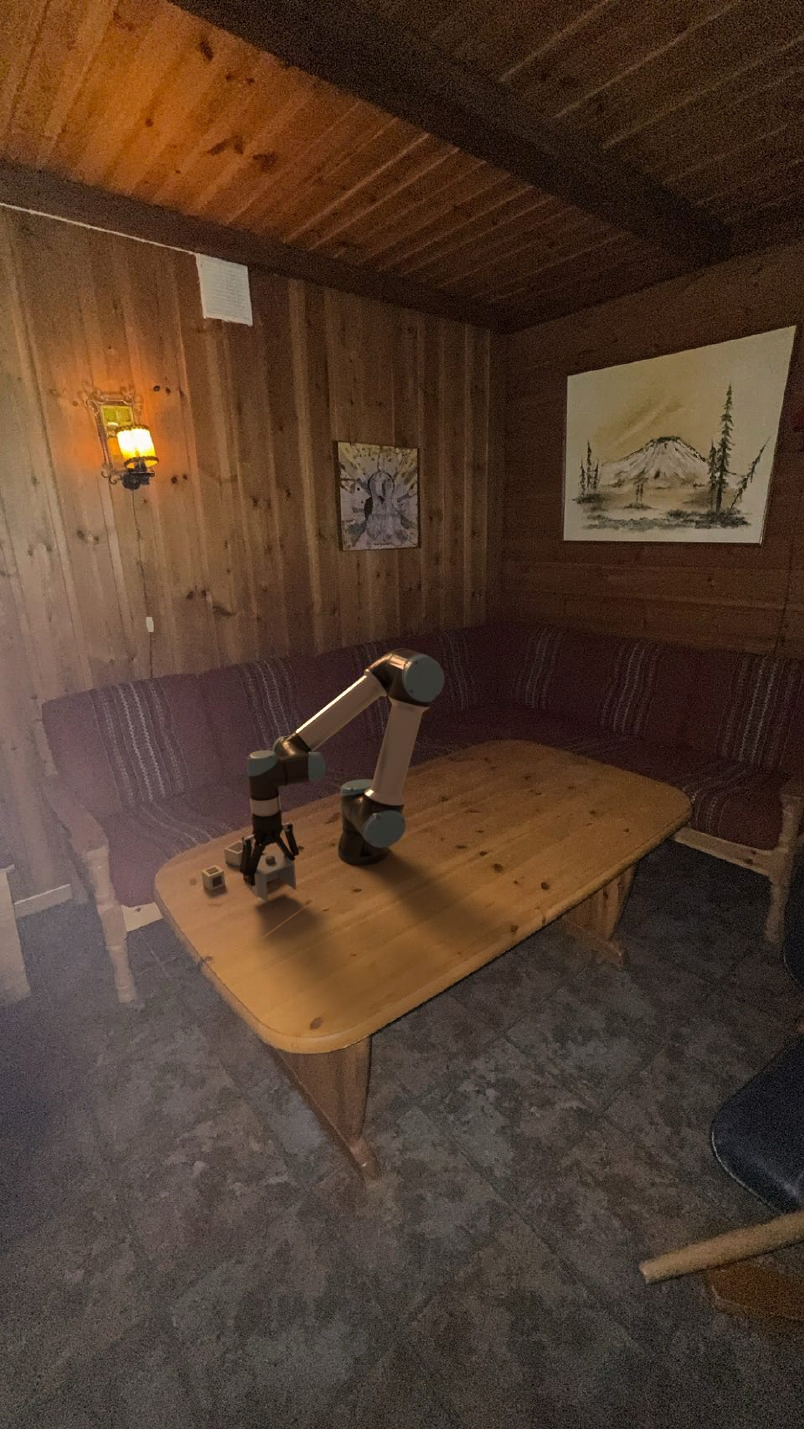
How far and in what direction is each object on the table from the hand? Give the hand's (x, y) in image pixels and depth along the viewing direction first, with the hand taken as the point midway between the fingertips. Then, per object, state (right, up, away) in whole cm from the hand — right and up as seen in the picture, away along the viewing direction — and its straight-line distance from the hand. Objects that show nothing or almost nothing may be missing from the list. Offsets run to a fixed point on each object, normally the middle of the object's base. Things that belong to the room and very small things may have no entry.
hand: (272, 887), depth 166 cm
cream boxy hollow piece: (-18, -2, +9) cm, 21 cm away
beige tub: (-14, +2, +22) cm, 26 cm away
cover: (0, 0, 0) cm, 0 cm away
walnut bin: (-5, 0, +13) cm, 14 cm away
